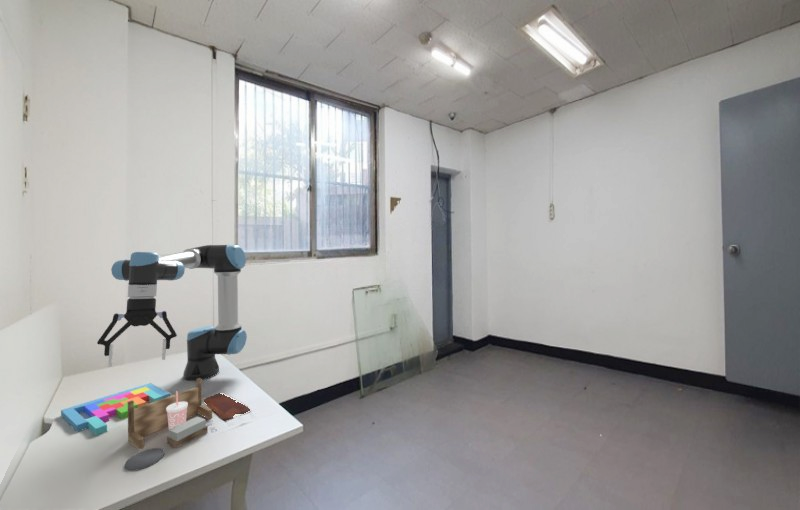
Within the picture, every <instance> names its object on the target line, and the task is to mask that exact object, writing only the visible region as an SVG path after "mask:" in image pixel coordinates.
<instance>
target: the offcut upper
mask: <svg viewBox="0 0 800 510" xmlns="http://www.w3.org/2000/svg"><path fill="white" fill-rule="evenodd" d="M206 424H207V423H206V418H203V417H199V416H198V415H197V416H195V417H193V418H191V419H188V420H186V422H184V423H182V424H180V425H178V426H176V427H174V428H171V429H169V428H168V437H169V438H171V439H173V440H176V441H179V440H181V439H183V438H185V437H187V436H188V435H190V434H192V433H194V432H196V431H198V430H200V429H202V428H204V427H206V426H207V425H206Z"/></svg>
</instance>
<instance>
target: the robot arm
mask: <svg viewBox="0 0 800 510" xmlns="http://www.w3.org/2000/svg"><path fill="white" fill-rule="evenodd" d="M246 262H247V258H246V253H245V251H244V250H243V248H242V247H241V246H239V245H235V244H207V245H202V246H197V247H191V248H186V249H184V250H183V251H180V252H174V253H169V254H163V255H162V254H160V255H159V254H158V253H157V252H151V251H150V252H149V251H134V252H132V253H130V259H120V260H116V261H115V262H114V263H113V265H112V266H111V269H110V270H111V271H110V272H111V275H112V276H113V278H114V279H116V280H118V281H126V282H127V281H128V285H127V297H128V299H127V301H126V311H125V314H124V313H118V312H116V313H114V314H113V317H112V320H111V322H110V323H109V325H108V326H107V328H106V329H105V330H104V332H103V333H102V335H101V336H100V338H98V340H97V342H96V343H97V344H98V345H101V346H104V354H103V355H104V356H105V357H108V366H107V367H108V368H110V367H112V366H113V354H114V344H112V343H113V342H114V341H115V340H117V338H119V337H120V336H121V335H122V334H123V333H124V332H126V330H128V328H130V327H131V326H132V327H140V326H142V327H145V326H148V325H151V327H153V328H154V329H155V330H156V331H157V332H158V333H159V334H160V335H161V336H163V337H164V339H162V349H161V351H162V353H161V360H162V361H163V360H166V354H167V353H166V352H167V351H166V350H169V349H170V347H171V340H172V339H174V338H177V336H178V334H177V332H176V330H175V328H174V327H173V325H172V324H171V322H170V320H169V318H168V316H167V314H168V313H167V311H166V310H163V311H159V312H158V311H156V308H157V307H156V306H157V305H156V303H157V299H156V297H157V289H158V285H157V284H158V281H177V280H180V279H182V277H183V276H184V274H185V270H186V269H190V270H193V269H213V273H214V274H215V275H216V276H217V310H218V312H217V313H218V315H217V316H218V317H217V321H218V323H217V325H216V326H213V325H212V326H211V325H209V326H204V327H199V328H194V329H192V330H190V331H189V332H188V333H187V336H186V348H187V357H186V358H187V361H186V365H185V367H184V370H183V373H182V374H183V378H182V379H183V380H185V381H196V379H198V378H201V379H202V380H205V378H206V379H209V378H212V377H214V376H216V375H218V374H219V373H220V366H219V364H218V361H217V358H216V355H229V356H230V355H237V354H240V353H241V351H242V350H244V347H245V346H246V342H247V337H248V336H247V332H246V330H244V329H242V324H241V323H240V322H239V298H238V297H239V294H238V293H239V291H238V288H239V287H238V282H239V281H238V275H239V274H240V273H241V272H242V269H243V268H244V267H245V266H246ZM156 317H159V318H160V319H162V320H163V322H164V324H165V325H166V327H167V329H168V331H169V332H170V334H168V333H167V332H166V331H165V330H164V329H163V328H162V327H161V326H160V325H159V324H157V323H156V322H155V321H154V320H155V318H156ZM123 318H124V319H125V320H126V321H127V322H125V324H124V325H123V326H122V327H121V328H120V329H117V331H116V332H115V333H114V334H113V335H112V336H111V337H110V338H108V339H106V338H107V337H108V335H109V334H110V333H111V331H112V330H113V329H114V327H115V326H116V325H117V322H118V321H121V320H122V319H123ZM218 372H219V373H218ZM217 373H218V374H217ZM215 374H216V375H215ZM213 375H214V376H213ZM211 376H212V377H211ZM208 377H209V378H208Z"/></svg>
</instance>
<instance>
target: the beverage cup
mask: <svg viewBox="0 0 800 510" xmlns="http://www.w3.org/2000/svg"><path fill="white" fill-rule="evenodd" d="M178 393H179V392H178V390H176V391H175V394H176V403H173V404H171V405H169V406H167V408H166V411H167V415H168V430H169V429H171V428H174V427H176V426H178V425H180V424H182V423H184V422H187V419H186V415H187V406H188V403H187V402H185V401H183V402H178Z"/></svg>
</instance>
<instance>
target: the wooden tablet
mask: <svg viewBox="0 0 800 510" xmlns="http://www.w3.org/2000/svg"><path fill="white" fill-rule="evenodd" d="M217 393H218V394H217ZM217 393H215V394H212V395H213V396H212V395H211V396H207V397H205V398H203V399H204V402H205V403H206V404H207V405H206V407H208V408H209V407H210V409H212V412H214V413H215V412H216V413H215V414H216V415H217V416H219V417H220V419H222V420H224V421H226V420H228V421H230V420H229V419H231V418H233V416H234V415H235V414H244V413H246V412H248V411H250V409H251V408H250V407H249V408H250V409H249V408H248V406H247V405H246V404H244V403H243V404H244V405H243V404H241V403H242V402H241V403H239V402H237V403H236V402H235V401H236V400H237V399H236V400H233V399H231V398H230V397H231V396H230V397H227V396H225V395H224V394H223V395H222V394H220V393H221V392H217ZM245 405H246V406H247V407H246V406H245ZM250 412H251V411H250ZM244 415H245V414H244ZM233 419H234V418H233ZM231 420H232V419H231Z"/></svg>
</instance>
